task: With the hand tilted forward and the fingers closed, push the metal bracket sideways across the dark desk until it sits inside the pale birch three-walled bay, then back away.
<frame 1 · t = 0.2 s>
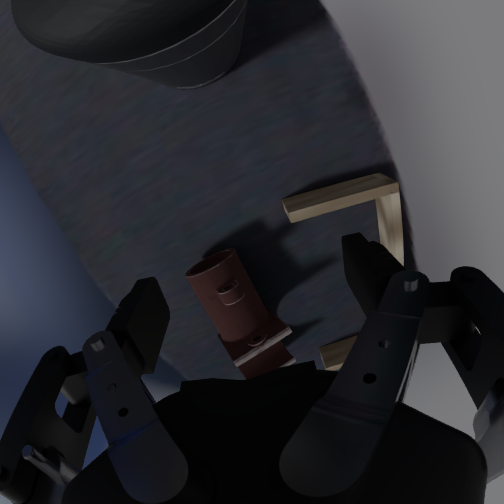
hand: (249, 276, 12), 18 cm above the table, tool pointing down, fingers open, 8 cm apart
bay: (344, 277, 34), on the table
bracket: (247, 304, 35), on the table
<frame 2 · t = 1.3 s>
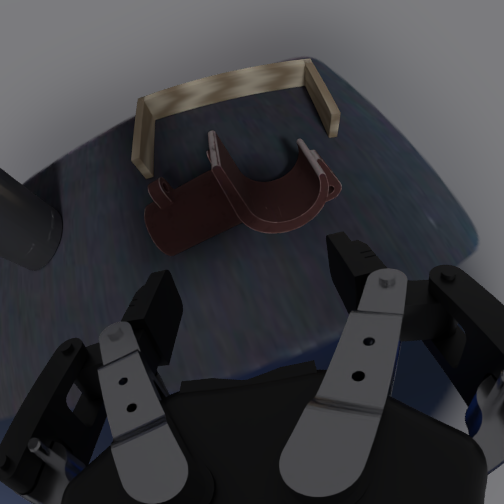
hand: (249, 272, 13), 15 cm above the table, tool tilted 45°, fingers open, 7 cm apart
bay: (233, 124, 34), on the table
bracket: (248, 210, 30), on the table
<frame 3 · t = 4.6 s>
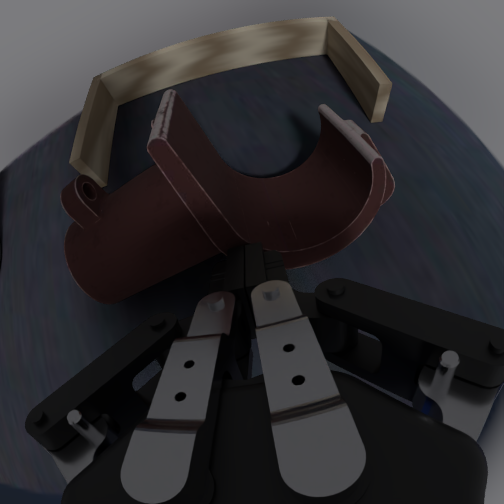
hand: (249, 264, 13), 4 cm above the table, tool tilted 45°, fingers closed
bay: (226, 104, 22), on the table
bracket: (238, 225, 19), on the table, touching gripper
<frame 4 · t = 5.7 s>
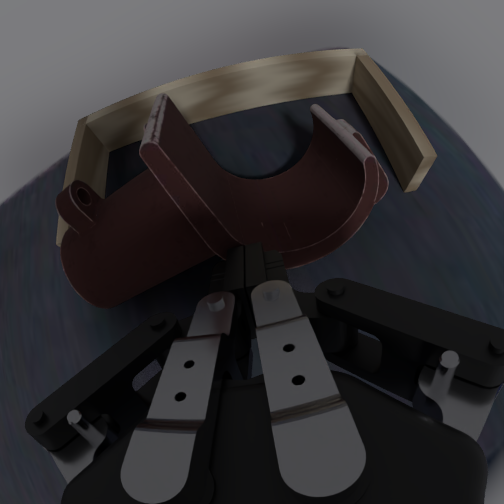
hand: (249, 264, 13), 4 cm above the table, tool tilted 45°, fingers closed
bay: (236, 162, 20), on the table
bracket: (233, 227, 19), on the table, touching gripper
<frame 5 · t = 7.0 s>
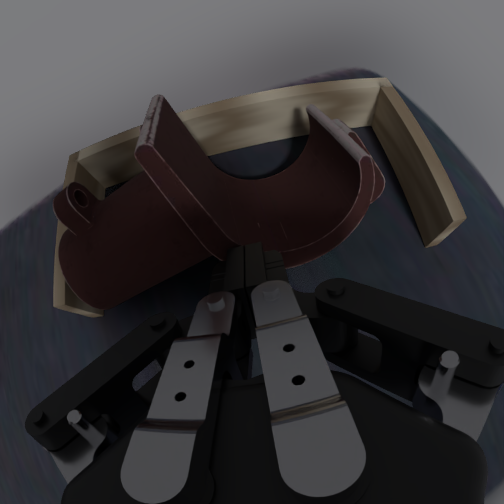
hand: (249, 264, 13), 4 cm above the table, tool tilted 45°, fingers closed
bay: (245, 211, 18), on the table
bracket: (230, 227, 19), on the table
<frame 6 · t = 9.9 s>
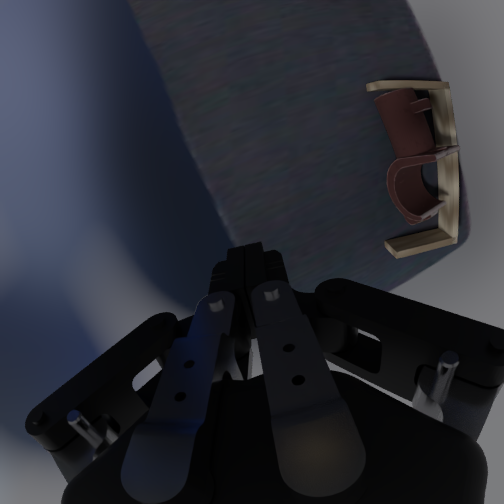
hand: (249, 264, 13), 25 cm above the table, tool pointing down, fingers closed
bay: (409, 164, 35), on the table
bracket: (401, 154, 35), on the table
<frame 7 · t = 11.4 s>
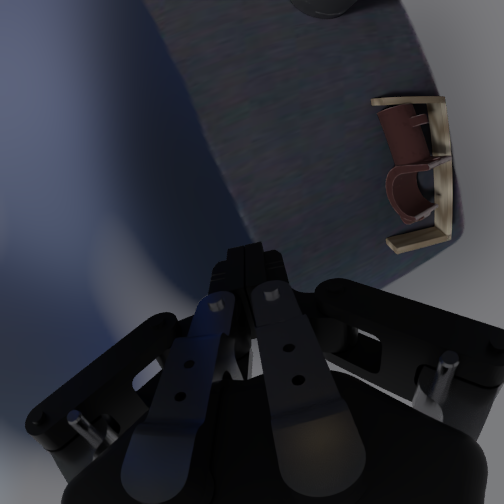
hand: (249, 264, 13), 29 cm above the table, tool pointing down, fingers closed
bay: (408, 170, 40), on the table
bracket: (400, 161, 40), on the table
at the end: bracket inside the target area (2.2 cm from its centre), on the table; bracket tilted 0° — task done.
